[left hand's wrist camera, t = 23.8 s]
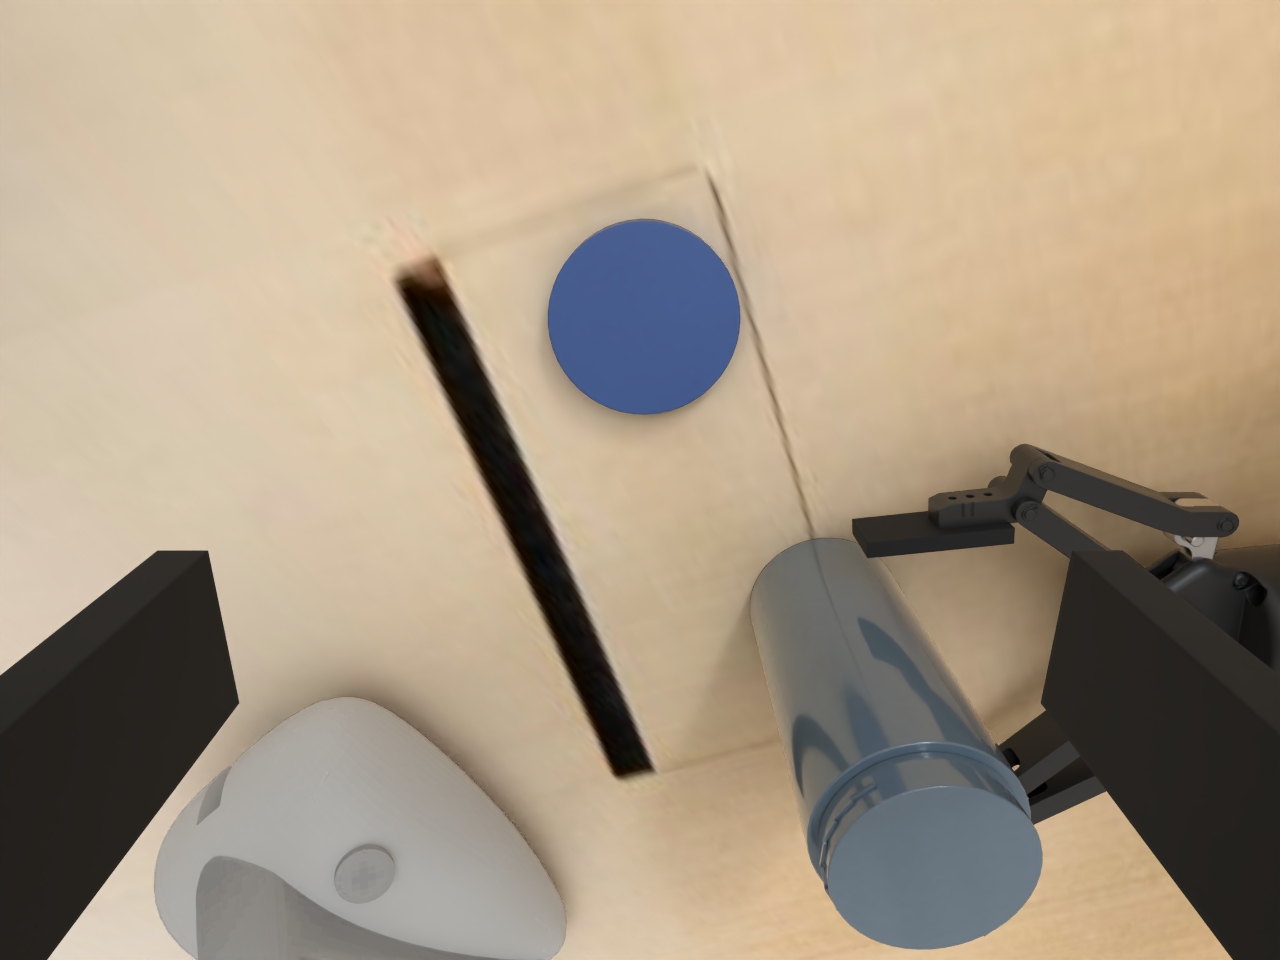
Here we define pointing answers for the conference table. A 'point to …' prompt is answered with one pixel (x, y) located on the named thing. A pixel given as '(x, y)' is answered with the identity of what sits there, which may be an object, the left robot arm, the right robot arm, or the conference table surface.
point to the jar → (888, 756)
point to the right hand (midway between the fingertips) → (861, 663)
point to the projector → (352, 853)
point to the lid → (644, 317)
